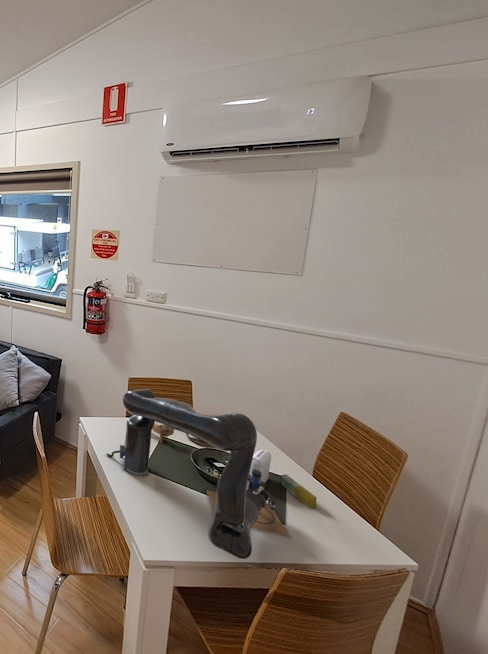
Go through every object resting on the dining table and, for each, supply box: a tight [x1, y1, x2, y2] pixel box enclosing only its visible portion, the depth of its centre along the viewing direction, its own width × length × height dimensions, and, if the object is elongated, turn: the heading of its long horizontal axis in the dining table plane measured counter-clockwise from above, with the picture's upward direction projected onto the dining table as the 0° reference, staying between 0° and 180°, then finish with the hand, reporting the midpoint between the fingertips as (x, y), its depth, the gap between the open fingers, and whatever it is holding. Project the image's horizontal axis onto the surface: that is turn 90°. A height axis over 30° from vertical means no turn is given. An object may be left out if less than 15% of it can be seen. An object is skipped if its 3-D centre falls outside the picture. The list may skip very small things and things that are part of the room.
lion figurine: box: [152, 422, 175, 444], centre depth 169 cm, size 15×5×9 cm, turn 44°
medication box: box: [280, 474, 318, 509], centre depth 135 cm, size 12×3×4 cm, turn 6°
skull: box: [186, 434, 213, 447], centre depth 169 cm, size 12×10×10 cm
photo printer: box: [249, 449, 272, 484], centre depth 141 cm, size 10×4×12 cm, turn 123°
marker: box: [250, 469, 262, 490], centre depth 127 cm, size 3×3×12 cm
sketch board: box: [205, 489, 289, 536], centre depth 129 cm, size 20×16×1 cm
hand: (256, 481), depth 128 cm, fingers closed on marker, 2 cm apart
